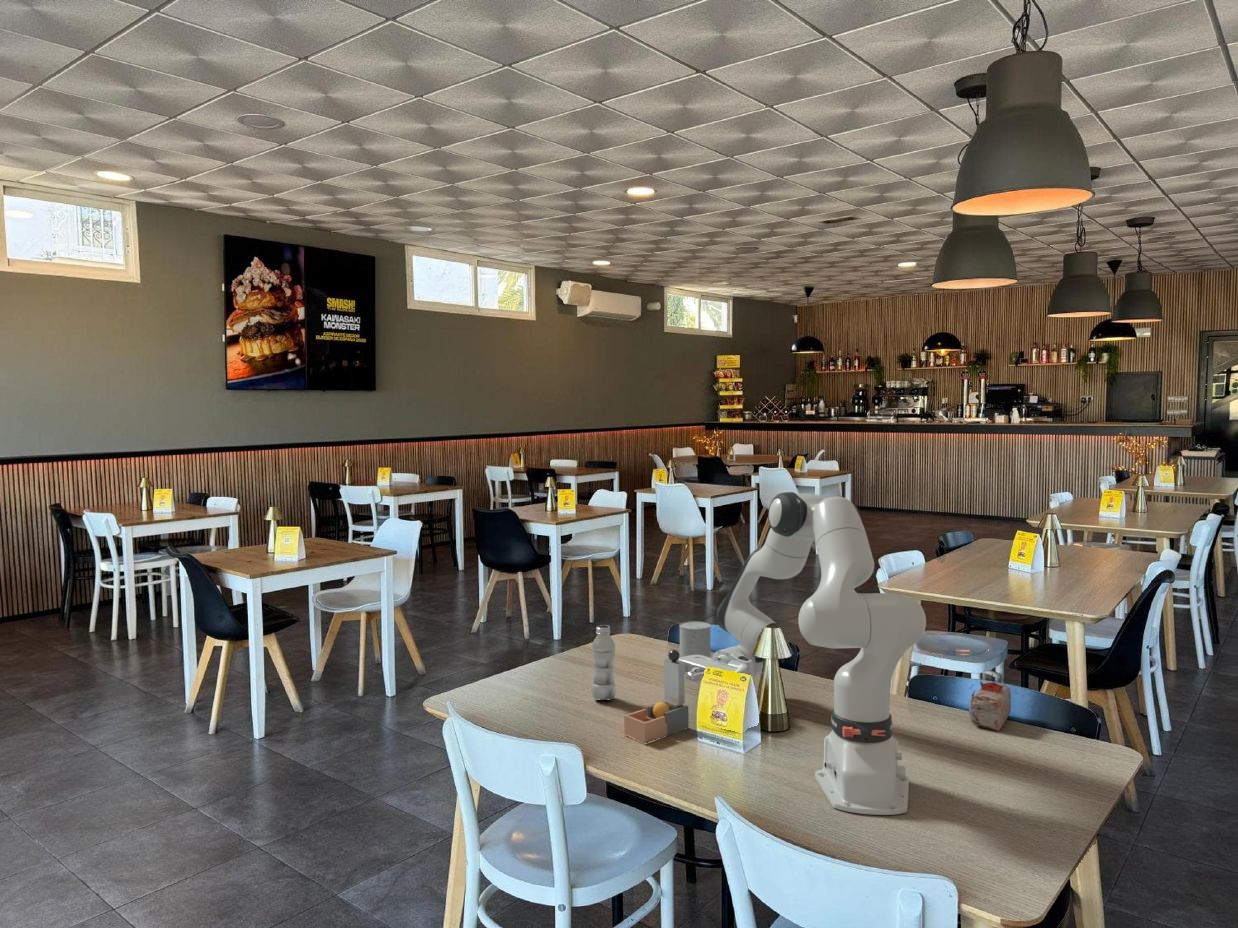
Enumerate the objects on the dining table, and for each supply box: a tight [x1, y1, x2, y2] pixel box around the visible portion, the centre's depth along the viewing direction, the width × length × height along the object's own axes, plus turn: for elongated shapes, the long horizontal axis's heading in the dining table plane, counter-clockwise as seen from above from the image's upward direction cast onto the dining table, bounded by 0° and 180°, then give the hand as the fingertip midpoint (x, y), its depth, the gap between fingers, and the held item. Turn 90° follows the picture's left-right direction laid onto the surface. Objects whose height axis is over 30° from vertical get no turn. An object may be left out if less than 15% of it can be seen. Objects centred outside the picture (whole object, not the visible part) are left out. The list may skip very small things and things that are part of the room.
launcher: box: [646, 703, 690, 736], centre depth 202 cm, size 8×7×6 cm
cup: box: [623, 708, 668, 744], centre depth 197 cm, size 7×7×5 cm
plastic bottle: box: [591, 624, 617, 700], centre depth 223 cm, size 6×7×20 cm
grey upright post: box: [662, 649, 686, 711], centre depth 203 cm, size 3×5×16 cm
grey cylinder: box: [679, 620, 711, 658], centre depth 254 cm, size 10×10×12 cm
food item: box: [968, 681, 1012, 732], centre depth 203 cm, size 14×8×10 cm, turn 146°
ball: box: [653, 701, 669, 718], centre depth 200 cm, size 4×4×4 cm
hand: (690, 677), depth 207 cm, fingers closed
